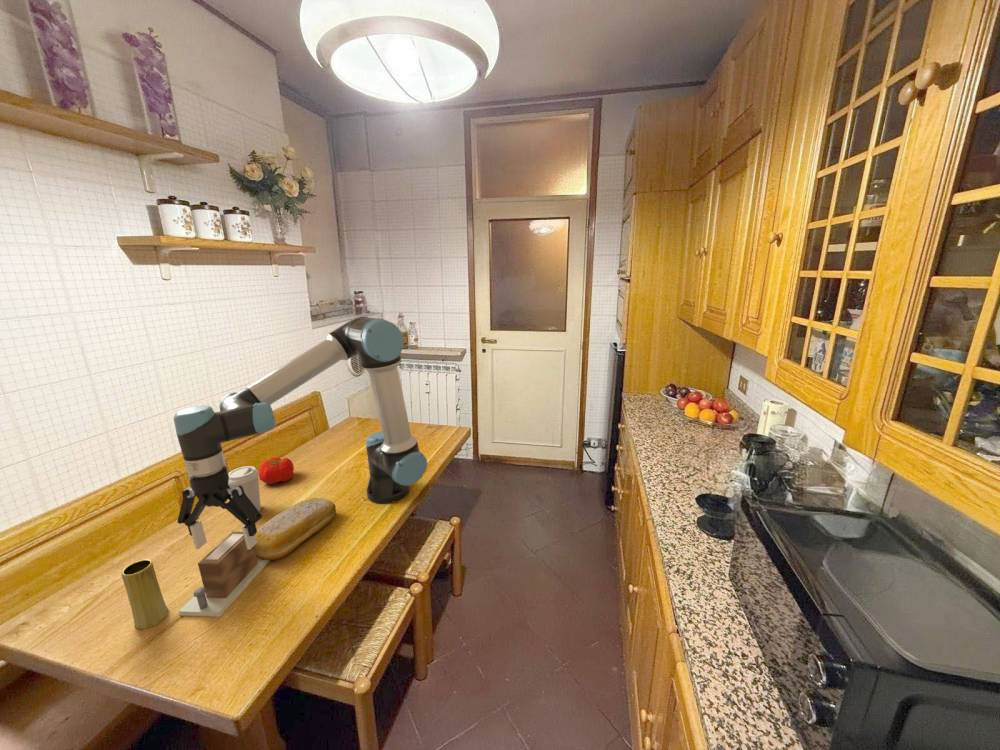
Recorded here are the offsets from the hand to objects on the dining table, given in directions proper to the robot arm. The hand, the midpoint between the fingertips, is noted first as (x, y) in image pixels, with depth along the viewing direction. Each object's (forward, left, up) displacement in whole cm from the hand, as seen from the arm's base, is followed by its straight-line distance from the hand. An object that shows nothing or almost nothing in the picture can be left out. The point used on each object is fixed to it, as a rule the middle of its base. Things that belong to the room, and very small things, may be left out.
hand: (226, 545), depth 101 cm
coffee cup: (+18, -32, -12) cm, 38 cm away
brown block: (0, 0, -10) cm, 10 cm away
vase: (+12, +11, -12) cm, 20 cm away
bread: (-5, -20, -12) cm, 24 cm away
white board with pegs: (+1, 0, -11) cm, 11 cm away
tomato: (+21, -53, -12) cm, 58 cm away
